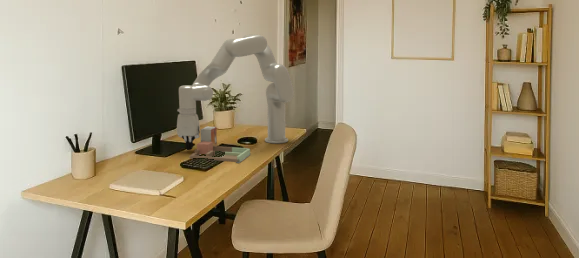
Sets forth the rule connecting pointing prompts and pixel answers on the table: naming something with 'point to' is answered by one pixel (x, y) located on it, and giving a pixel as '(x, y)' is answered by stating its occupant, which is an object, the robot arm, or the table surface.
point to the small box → (209, 135)
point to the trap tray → (230, 154)
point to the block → (205, 147)
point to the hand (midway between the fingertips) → (189, 149)
